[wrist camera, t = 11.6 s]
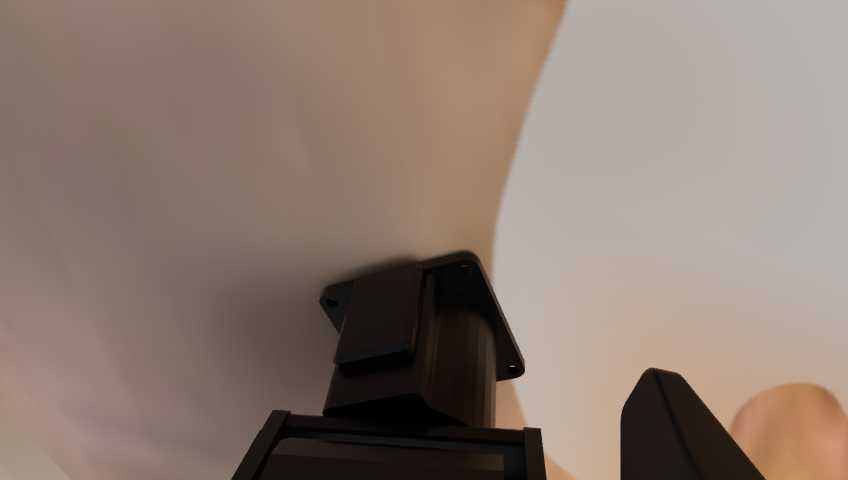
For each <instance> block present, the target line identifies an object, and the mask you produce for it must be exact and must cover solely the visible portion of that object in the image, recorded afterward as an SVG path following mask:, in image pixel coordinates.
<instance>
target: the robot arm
mask: <svg viewBox="0 0 848 480" xmlns="http://www.w3.org/2000/svg"><path fill="white" fill-rule="evenodd" d="M463 265H469V266H471V268H469V269H465V268H463V267H462V266H463ZM330 298H334V299H336V300H337V301H334V300H331V299H330ZM319 302H320V305H321V307H322V308H323V310H324V311H325V313H326V314H327V316H328V317H329V319H330V320H331V322H332V324H333V325H334V327H335V328H336V330H337V331H338V333H339V334H340V335H339V339H338V343H337V346H336V350H335V353H334V357H333V362H334V364H335V368H334V371H333V375H332V379H331V382H330V386H329V390H328V393H327V397H326V401H325V404H324V408H323V412H322V414H323V416H313V415H299V414H291V412H290V411H282V410H273V411H272V413H271V414H270V416H269V418H268V419H267V421H266V423H265V424H264V426H263V428H262V429H261V430H260V431H259V433H258V434H257V436H256V438H255V440H254V441H253V443H252V445H251V446H250V448H249V450H248V452H247V453H246V455H245V457H244V458H243V460H242V462H241V464H240V465H239V467H238V469H237V470H236V472H235V474H234V476H233V477H232V479H231V480H547V479H546V470H545V462H544V453H543V445H542V436H541V429H540V428H528V427H524V428H523V430H514V429H500V428H495V420H496V382H497V381H503V380H508V379H513V378H517V377H520V376H521V375H523V374H524V372H525V362H524V359H523V356H522V354H521V352H520V350H519V347H518V345H517V343H516V341H515V338H514V336H513V334H512V332H511V329H510V327H509V325H508V323H507V320H506V318H505V316H504V313H503V311H502V309H501V307H500V304H499V302H498V300H497V298H496V295H495V293H494V291H493V289H492V286H491V284H490V282H489V279H488V277H487V275H486V273H485V270H484V268H483V266H482V264H481V261H480V260H479V258H478V257H477V256H476V255H474V254H471V253H461V254H457V255H453V256H449V257H445V258H441V259H437V260H433V261H429V262H425V263H421V264H417V265H416V264H413V265H409V266H406V267H402V268H398V269H394V270H390V271H386V272H382V273H378V274H374V275H370V276H366V277H362V278H358V279H357V280H353V281H349V282H345V283H341V284H337V285H333V286H329V287H326V288H324V290H323V291H322V293H321V297H320V301H319ZM510 366H515V367H510ZM621 480H766V479H765V478H764V477H763V475H762V474H761V473H760V472H759V470H758V469H757V468H756V467H755V465H754V464H753V463H752V462H751V461H750V459H749V458H748V457H747V456H746V454H745V453H744V452H743V451H742V449H741V448H740V447H739V446H738V444H737V443H736V442H735V441H734V440H733V438H732V437H731V436H730V435H729V433H728V432H727V431H726V430H725V428H724V427H723V426H722V425H721V423H720V422H719V421H718V420H717V419H716V417H715V416H714V415H713V414H712V412H711V411H710V410H709V409H708V407H707V406H706V405H705V404H704V403H703V401H702V400H701V399H700V398H699V396H698V395H697V394H696V393H695V391H694V390H693V389H692V388H691V386H690V385H689V384H688V383H687V382H686V380H685V379H684V378H683V377H682V376H681V375H680V374H678V373H676V372H671V371H666V370H662V369H657V368H649V369H647V370H646V371H645V372H644V373H643V374H642V376H641V378H640V379H639V381H638V382H637V384H636V386H635V388H634V389H633V391H632V393H631V394H630V396H629V398H628V399H627V401H626V402H625V405H624V407H623V410H622V414H621Z"/></svg>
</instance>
